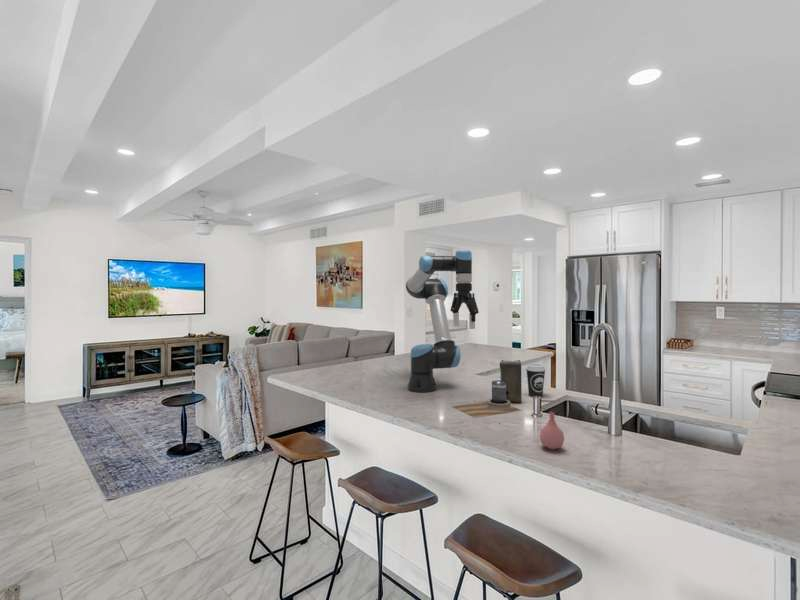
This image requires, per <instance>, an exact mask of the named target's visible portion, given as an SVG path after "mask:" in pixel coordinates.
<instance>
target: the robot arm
mask: <svg viewBox="0 0 800 600" xmlns="http://www.w3.org/2000/svg"><path fill="white" fill-rule="evenodd" d="M472 265H473V254H472V251H471V250H470V249H458V250H456V251H455V255H422V256H420V257H419V260H418V269H417V270H416V271H415V273H414V274H413V276H411V277H409V278H408V279H407V281H406V283H405V289H406V291H407V294H409V296H411V297H413V298H414V299H425V303H426V304H427V305H428V306H429V312H430V316H431V317H430V318H431V323H432V327H433V328H432V330H433V334H434V341H435V342H434V344H431V343H425V344H424V343H423V344H418V345H415V346H412V348H411V350H410V355H409V357H410V376H409V380H408V384H407V390H408V391H410V392H414V393H415V392H416V393H430V392H434V391H436V390H437V383H436V379H435V377H434V370H436V369H437V370H438V369H451V368H452V369H453V368H457V367H458V366H459V365H460V362H461V353H462V352H461V348H460V346H459V345H456V343H455V341H454V340H453V339H452V338H451V332H450V326H449V322H448V321H449V320H448V317H447V311H446V307H445V301H446V299H447V298H448V296H449V295H448V294H449V288H448V284H447V282H446V281H445V280H444V279H443V278H438V277H437V278H436V277H434V278H431V277H432V276H433V274H435V272H453V273H455V282H456V283H455V291H456V292H454V293H453V300H452V302H451V303H452V304H451V306H450V312H452V316H453V317H452V320H453V324H452V325H453V326H452V327H460V309H461V306H462V305H463V304H465V305H466V306H465V307H466V308H467V309H468V312H469V315H468V318H469V319H468V320H469V321H468V328H469V330H474V329H476V315H477V314H479V313H480V312H479V309H478V306H477V302H476V298H475V293H474V292H473V293H472V290H473V284H472V282H473V274H472V273H473V271H472V270H473V269H472V268H473V267H472Z"/></svg>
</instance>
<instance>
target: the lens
mask: <svg viewBox="0 0 800 600" xmlns="http://www.w3.org/2000/svg"><path fill="white" fill-rule="evenodd" d="M491 399H492V403H495V404H505V403H506V382H505V381H501V379H496V380H495V379H494V380H492V381H491Z"/></svg>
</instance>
